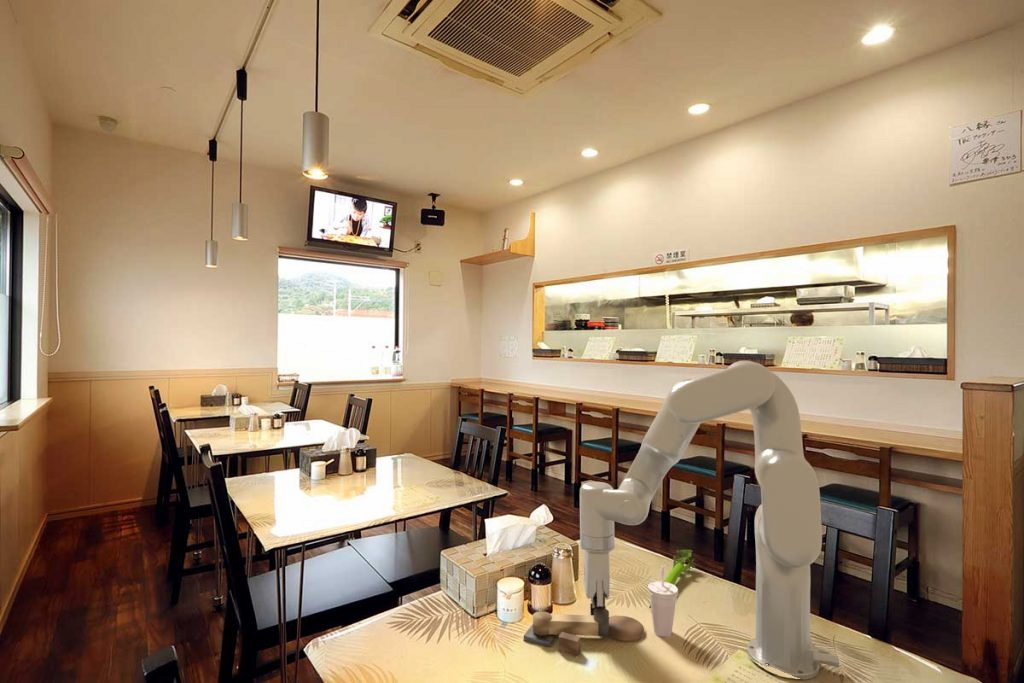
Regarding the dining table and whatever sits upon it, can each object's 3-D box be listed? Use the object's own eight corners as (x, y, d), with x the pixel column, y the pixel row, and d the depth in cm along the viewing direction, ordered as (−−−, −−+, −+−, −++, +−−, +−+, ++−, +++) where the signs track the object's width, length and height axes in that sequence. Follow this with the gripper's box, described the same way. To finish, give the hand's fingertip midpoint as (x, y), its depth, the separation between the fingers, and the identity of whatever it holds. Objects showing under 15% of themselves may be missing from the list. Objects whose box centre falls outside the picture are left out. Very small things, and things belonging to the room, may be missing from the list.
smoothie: (674, 625, 114) (674, 562, 114) (681, 641, 108) (681, 574, 108) (645, 623, 115) (645, 560, 115) (650, 639, 108) (650, 573, 108)
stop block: (580, 651, 104) (580, 636, 104) (577, 656, 102) (577, 641, 102) (561, 646, 106) (561, 631, 106) (558, 651, 104) (558, 636, 104)
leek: (641, 617, 121) (673, 561, 147) (671, 629, 118) (698, 570, 143) (645, 593, 121) (675, 542, 146) (674, 605, 117) (701, 550, 143)
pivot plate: (560, 632, 111) (560, 628, 111) (550, 647, 105) (550, 642, 105) (534, 626, 113) (534, 621, 113) (523, 640, 108) (523, 635, 108)
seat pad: (647, 624, 114) (647, 621, 114) (639, 646, 106) (639, 642, 106) (607, 615, 118) (607, 612, 118) (597, 635, 110) (597, 631, 110)
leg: (532, 635, 107) (532, 614, 107) (532, 624, 111) (533, 604, 111) (610, 638, 106) (610, 616, 106) (607, 627, 110) (607, 607, 110)
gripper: (578, 527, 121) (579, 606, 121) (582, 553, 106) (583, 642, 106) (610, 528, 120) (611, 606, 120) (619, 553, 106) (620, 643, 105)
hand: (598, 623), depth 113 cm, fingers closed
